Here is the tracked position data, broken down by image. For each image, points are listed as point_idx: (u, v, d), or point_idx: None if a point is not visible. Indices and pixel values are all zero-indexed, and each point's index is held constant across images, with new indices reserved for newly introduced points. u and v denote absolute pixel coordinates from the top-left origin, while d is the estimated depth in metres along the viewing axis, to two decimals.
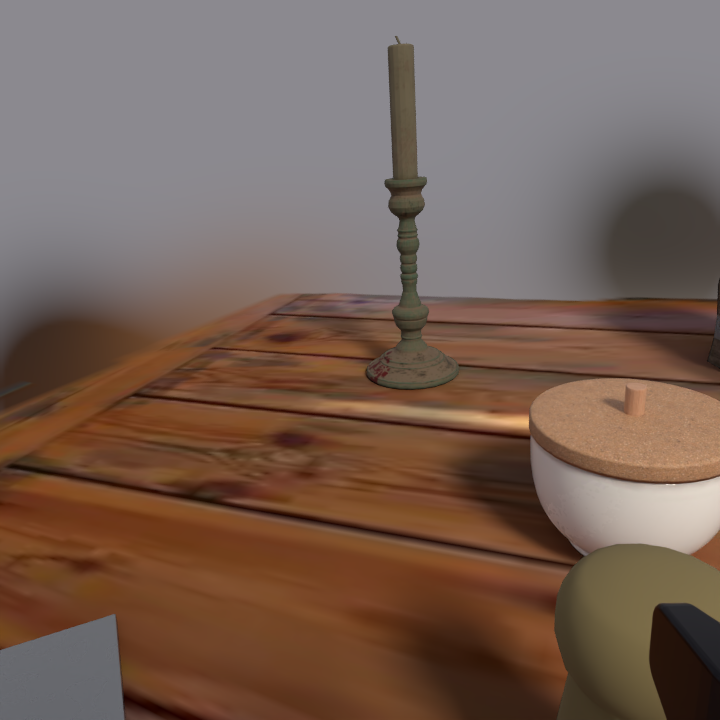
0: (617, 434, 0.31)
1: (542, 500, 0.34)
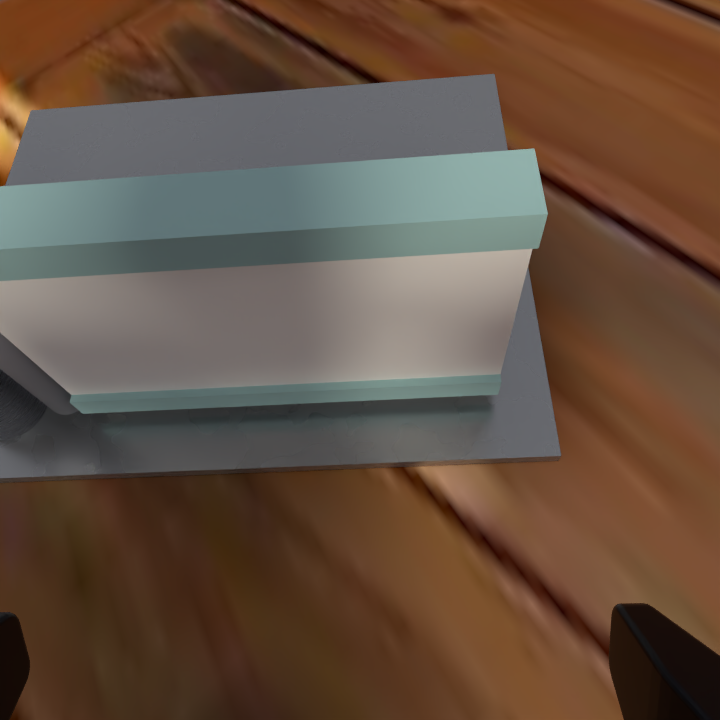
0: None
1: None
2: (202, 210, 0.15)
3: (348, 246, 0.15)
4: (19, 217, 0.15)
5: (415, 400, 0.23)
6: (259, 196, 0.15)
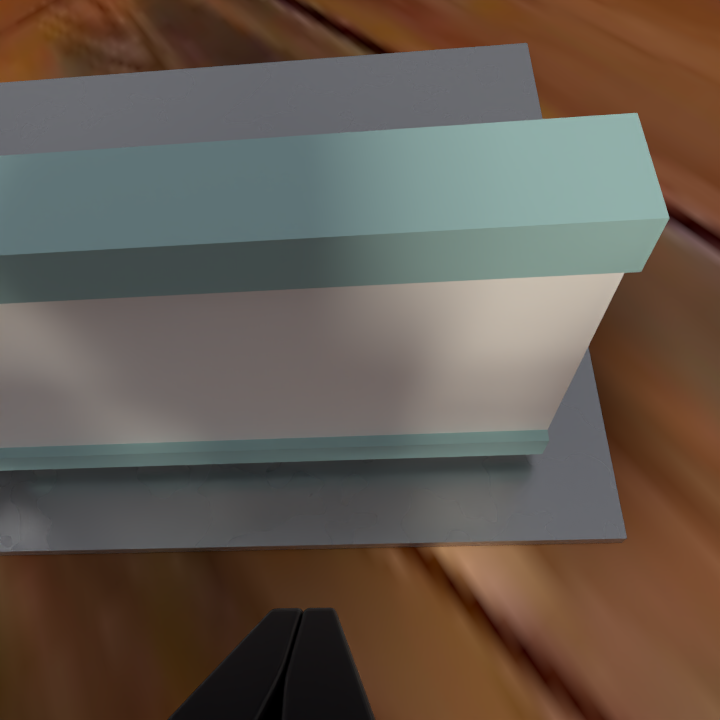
0: None
1: None
2: (107, 207, 0.09)
3: (339, 266, 0.09)
4: None
5: (431, 457, 0.18)
6: (199, 186, 0.09)
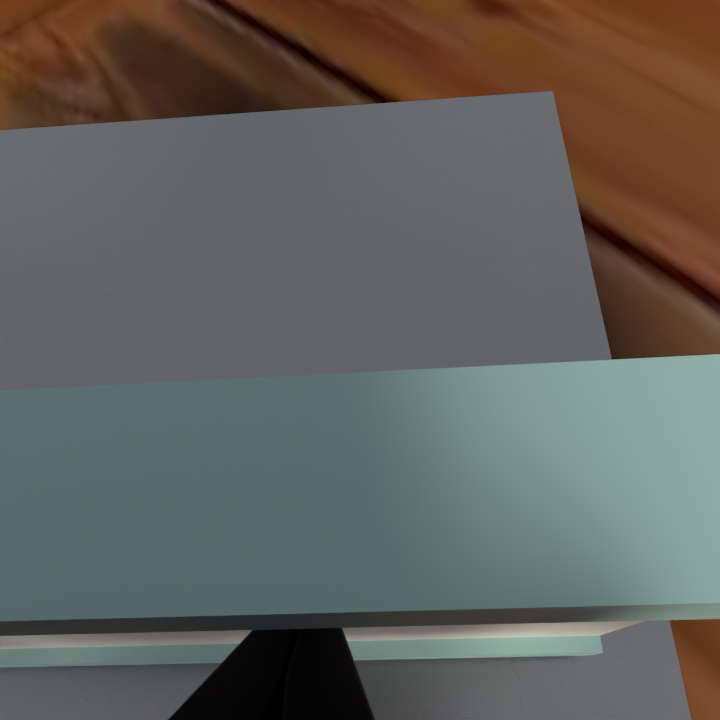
0: None
1: None
2: None
3: (308, 622, 0.05)
4: None
5: None
6: (63, 483, 0.05)
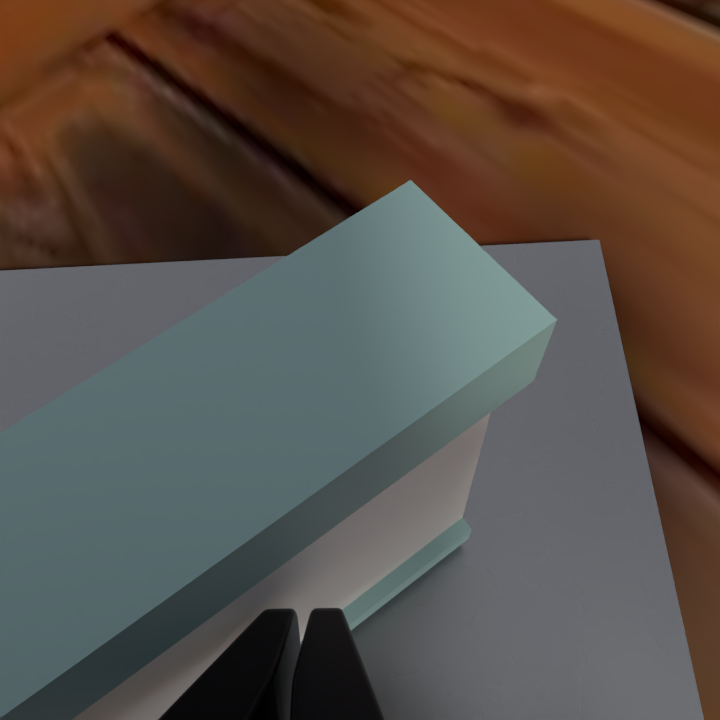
0: None
1: None
2: None
3: (116, 666, 0.05)
4: None
5: None
6: None
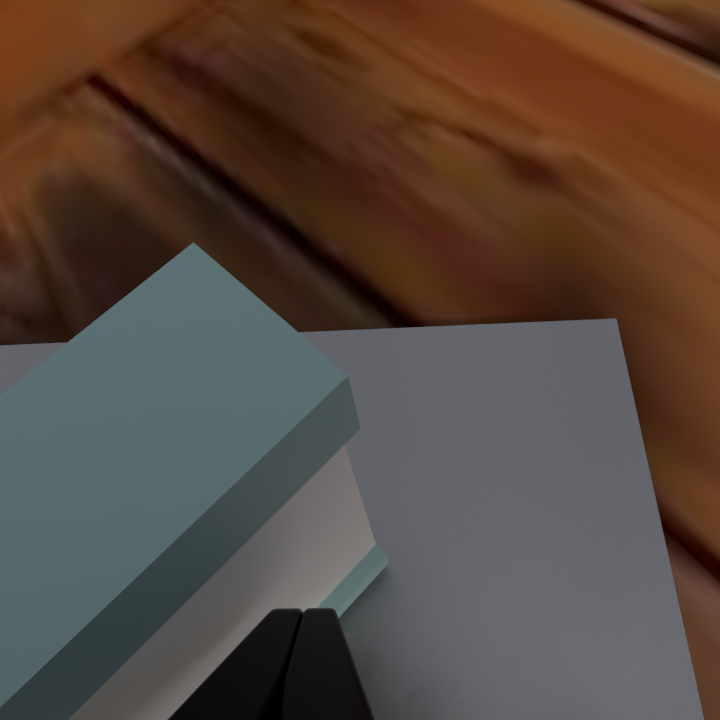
0: None
1: None
2: None
3: None
4: None
5: None
6: None
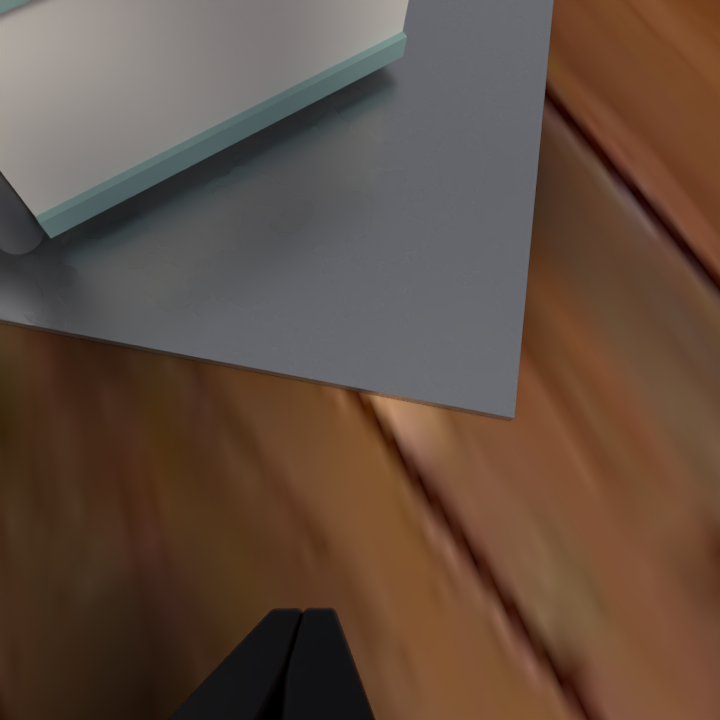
0: None
1: None
2: None
3: None
4: None
5: (386, 328, 0.22)
6: None
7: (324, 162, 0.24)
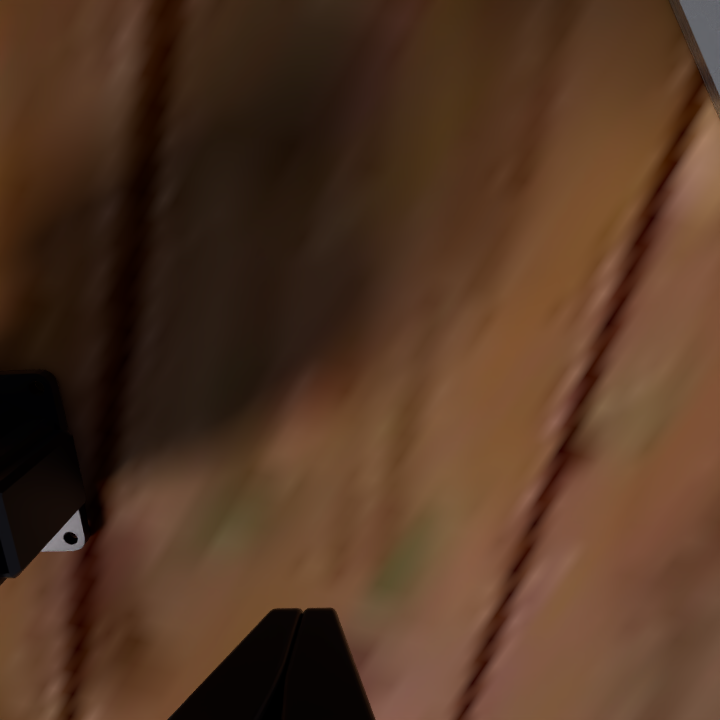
0: None
1: None
2: None
3: None
4: None
5: None
6: None
7: None
